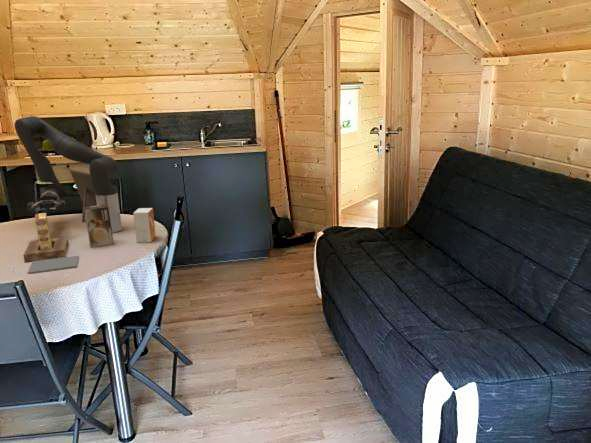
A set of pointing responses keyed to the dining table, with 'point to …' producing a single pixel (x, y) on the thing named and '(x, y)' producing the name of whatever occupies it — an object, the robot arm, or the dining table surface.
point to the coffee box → (98, 225)
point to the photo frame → (84, 187)
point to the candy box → (43, 231)
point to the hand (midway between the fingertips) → (44, 209)
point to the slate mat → (53, 264)
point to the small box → (144, 224)
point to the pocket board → (46, 250)
